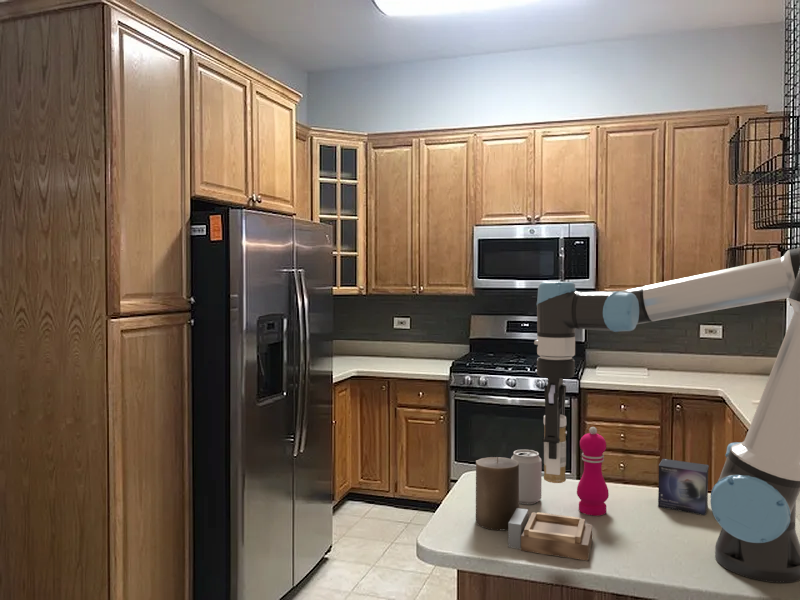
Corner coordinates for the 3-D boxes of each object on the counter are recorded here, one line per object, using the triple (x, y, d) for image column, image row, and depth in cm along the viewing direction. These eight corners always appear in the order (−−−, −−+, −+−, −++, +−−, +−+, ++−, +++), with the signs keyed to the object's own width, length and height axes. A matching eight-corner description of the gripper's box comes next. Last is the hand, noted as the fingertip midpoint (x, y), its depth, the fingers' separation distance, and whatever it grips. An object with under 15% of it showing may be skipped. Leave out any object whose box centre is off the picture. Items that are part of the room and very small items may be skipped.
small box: (657, 508, 152) (657, 464, 152) (661, 499, 158) (661, 457, 158) (705, 516, 147) (706, 471, 147) (708, 507, 153) (709, 464, 152)
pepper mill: (610, 517, 146) (611, 431, 145) (577, 515, 148) (578, 429, 147) (606, 506, 153) (607, 424, 153) (575, 504, 155) (576, 422, 154)
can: (522, 492, 163) (522, 446, 163) (547, 500, 158) (547, 452, 157) (504, 499, 158) (504, 451, 158) (529, 507, 153) (529, 458, 152)
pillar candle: (518, 532, 138) (518, 463, 138) (472, 528, 140) (473, 460, 140) (519, 516, 147) (520, 452, 147) (477, 513, 149) (477, 449, 149)
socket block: (592, 538, 134) (592, 519, 134) (587, 560, 124) (588, 539, 124) (530, 530, 139) (530, 511, 139) (520, 550, 129) (521, 530, 128)
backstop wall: (528, 532, 138) (528, 509, 138) (520, 548, 130) (520, 524, 129) (516, 530, 139) (516, 508, 139) (508, 547, 130) (508, 522, 130)
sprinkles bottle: (559, 476, 134) (560, 412, 133) (570, 483, 129) (570, 417, 129) (539, 477, 133) (539, 413, 132) (549, 484, 128) (549, 418, 128)
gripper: (543, 351, 140) (542, 457, 140) (529, 361, 123) (529, 480, 124) (578, 353, 137) (577, 460, 138) (569, 363, 121) (568, 485, 122)
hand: (554, 470), depth 131 cm, fingers closed on sprinkles bottle, 4 cm apart
